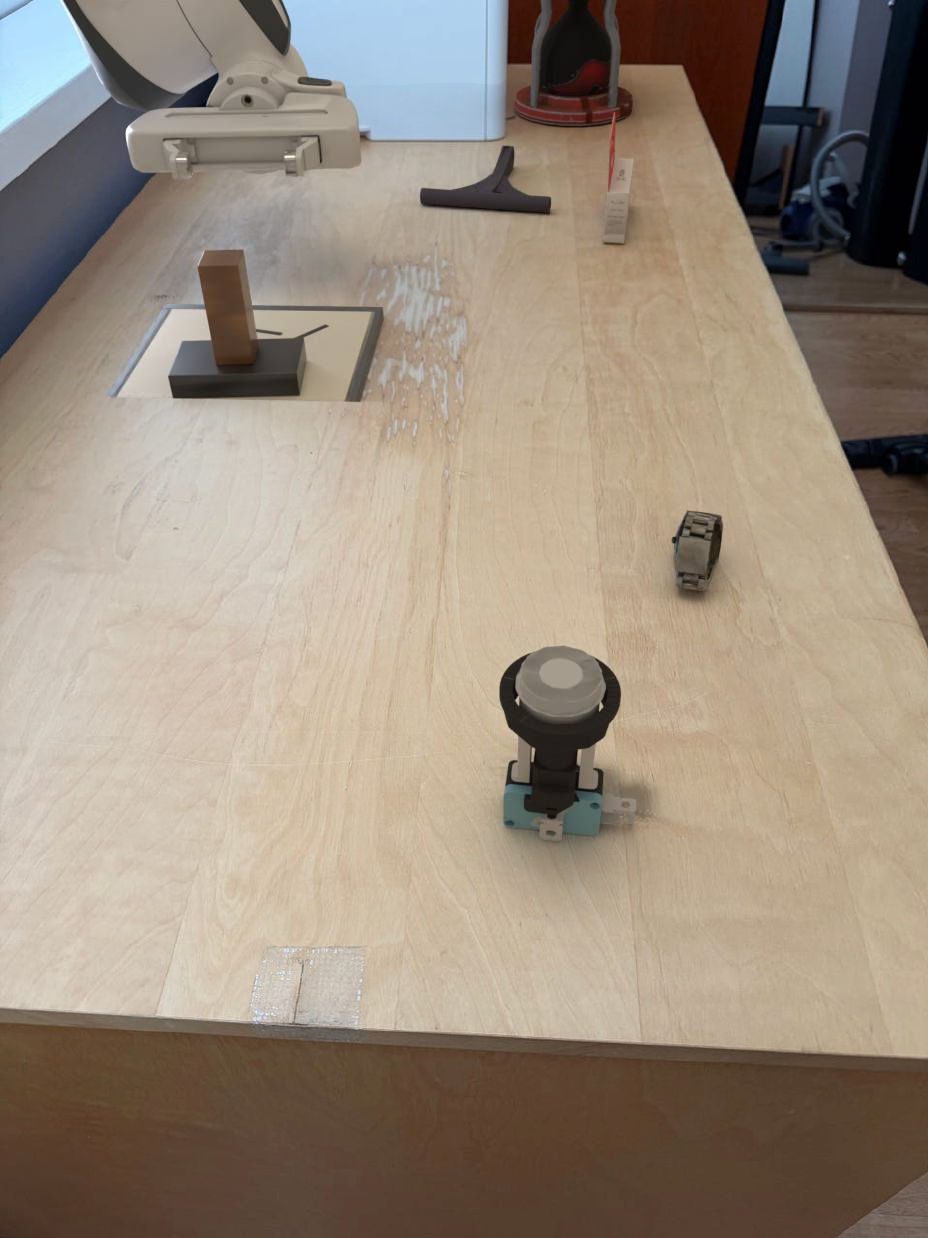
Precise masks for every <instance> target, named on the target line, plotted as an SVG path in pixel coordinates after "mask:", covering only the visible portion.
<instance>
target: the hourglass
mask: <svg viewBox="0 0 928 1238" xmlns="http://www.w3.org/2000/svg"><path fill="white" fill-rule="evenodd" d="M590 1H591V0H566V2H568V4H567V6H568V7H567V9H566V10H565V11H564V13H562V15H561V16H560V17H559V18H558V19H557V20H556V21H555V23H554V24H553V25H552V26H551V22H552V19H553V13H554V9H553V7H554V3H555V0H540V5H541V12H540V14H539V16H538V17H537V19H536V22H535V26H534V36H533V37H534V38H533V41H532V46H531V71H530V85H528V86H525V87H522V88H521V89H520V90H518V91H517V92H515V94H514V100H513V101H514V103H513V107H514V108H513V111H514V112H515V113H516V114H517V115H518V116H519V117H522V118H524V119H526V120H528V121H531V122H535V123H540V124H543V125H551V126H561V127H586V126H588V127H589V126H598V125H604V124H608V123H612V122H613V115H614V112H615V121H616V122H617V121H620V120H622V119H624V118H627V117H628V116H629V115H630V114H631V113H632V112H633V104H634V98H633V94H632V93H631V92H630V91H629V90H627V89H626V88H623V87H621V86H619V76H620V63H621V52H622V47H621V39H620V34H619V32H620V29H619V28H620V27H619V21H618V18H617V15H616V14H615V11H616V6H617V0H602V10H603V11H602V15H603V23H604V27H603V26H602V24H601V23H600V22H599V20H598V19H597V18H596V17H595V16H594V14H593V13H592V12H591V10H589V2H590Z"/></svg>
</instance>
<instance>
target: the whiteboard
mask: <svg viewBox="0 0 928 1238" xmlns="http://www.w3.org/2000/svg"><path fill="white" fill-rule="evenodd" d="M252 307H253V314H254V320H255V327H256V333H257V339H279V338H304V342H305V350H306V358H307V361H306V366H305V371H304V376H303V381H302V386H301V391H300V395H295V396H254V397H214V398H175V399H179V400H181V399H183V400H232V401H234V400H235V401H238V400H239V401H283V402H285V401H287V402H290V401H291V402H331V403H332V402H336V403H337V402H339V403H343V402H344V403H361V400H362V399H361V398H362V395H363V392H364V388H365V384H366V381H367V378H368V373H369V370H370V366H371V363H372V359H373V357H374V353H375V349H376V345H377V342H378V339H379V334H380V330H381V327H382V323H383V320H384V307H383V306H350V305H349V306H347V305H346V306H343V305H339V306H338V305H273V304H272V305H271V304H270V305H268V304H267V305H265V304H262V305H261V304H252ZM197 340H211V336H210V330H209V325H208V320H207V315H206V309H205V304H204V303H203V304H199V303H198V304H195V303H194V304H192V303H189V304H188V303H165V305H164V306H163V307H162V309H161V311H160V313H159V314H158V316H157V317H156V318H155V320H154V322H153V323H152V324H151V326H150V328H149V329H148V331H147V333H146V334H145V336H144V337H143V338H142V340H141V342H139V345H138V346H137V348H136V349H135V351H134V352H133V354H132V355H131V356H130V358H129V360H128V362H126V364H125V367H124V368H123V369H122V371H121V372H120V374H119V375H118V377H117V379H116V380H115V381H114V383H113V385H112V386H111V387H110V389H109V391H108V392H107V394H106V396H105V398H128V399H129V398H130V399H131V398H133V399H174V398H173V397H172V392H171V388H170V383H169V379H168V375H169V372H170V370H171V367H172V365H173V362H174V359H175V357H176V354H177V352H178V349H179V347H180V344H181V342H182V341H197Z"/></svg>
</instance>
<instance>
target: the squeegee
mask: <svg viewBox="0 0 928 1238" xmlns="http://www.w3.org/2000/svg"><path fill="white" fill-rule="evenodd" d="M515 153H516V152H515V147H514V146H513V145H501V148H500V152H499V155H498V158H497V161H496V163H495V166H494V168H493V170H492V173H490V174H489V175H488V176H487V177H484V178H483V179H481V180H479V181H477V182H475V183H473V184H470V185H465V186H462V187H458V188H452V189H445V188H444V189H443V188H430V187H421V188H420V191H419V202H420V204H421V205H432V206H434V205H435V206H449V207H460V208H476V209H487V210H488V209H490V210H504V211H514V212H515V211H516V212H530V213H531V212H532V213H544V214H550V213H551V210H552V209H551V208H552V196H547V195H532V194H531V195H530V194H527V193H525V192H522V191H521V190H519V189H517V188H516V187H514V186H513V185H512V184H511V182H510V181H509V177H510V175H511V173H512V171H513V169H514V165H515V155H516V154H515Z"/></svg>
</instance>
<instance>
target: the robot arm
mask: <svg viewBox="0 0 928 1238" xmlns="http://www.w3.org/2000/svg"><path fill="white" fill-rule="evenodd" d="M60 3H61V4H62V6H63V8H64V10H65V12H66V14H67V16H68V17H69V19H70V21H71V23H72V25H73V27H74V30H75V32H76V33H77V36H78V38H79V39H80V42H81V44H82V47H83V49H84V51H85V53H86V55H87V57H88V60H89V62H90V64H91V66H92V68H93V69H94V71H95V73H96V75H97V78H98V80H99V81H100V82H101V84H102V85H103V87H104V89H105V90H106V92H107V93H108V94H109V95H110V96H111V97H112V99H113V100H114V101H115V102H116V103H118V104H119V105H121V106H124V107H127V108H130V109H132V110H135V111H139V112H143V114H141V115H139V116H138V117H137V118H136V119H135V120H133V122H131V123H130V124H129V125H128V126H127V128H126V129H125V130H126V131H125V138H126V145H127V150H128V155H129V159H130V163H131V165H132V167H133V169H134V170H136V171H137V172H140V173H143V174H144V173H145V174H154V173H171V177H172V179H173V180H191V179H192V177H193V176H194V173H197V172H198V173H199V172H200V173H202V172H244V173H246V174H251V175H267V174H272V173H274V172H277V171H284V172H285V177H287V178H299V177H302V178H303V177H305V172H308V171H311V170H337V169H339V170H340V169H341V170H343V169H344V170H345V169H346V170H348V169H349V170H350V169H353V168H356V167H359V166H361V164H362V150H361V149H362V147H361V131H360V123H359V116H358V112H357V109H356V106H355V104H354V103H353V101H351V100H350V99H349V98H348V95H347V90H346V86H345V84H344V83H343V82H342V81H339V80H332V79H331V80H330V79H326V78H317V77H310V76H309V73H308V70H307V66H306V64H305V63H304V61H303V59H302V57H301V55H300V54H299V51H298V50H297V49H296V47H295V46H294V44H292V43H291V40H292V39H291V38H292V22H291V19H290V16H289V13H288V11H287V8H286V6H285V3H284V1H283V0H60ZM216 74H218V78H217V81H216V83H215V85H214V87H213V88H212V91H211V92H210V94H209V97H208V99H207V101H206V105H205V106H203V107H202V106H201V107H196V106H195V107H170V106H172V105H173V104H175V103H176V102H177V101H178V100H180V99H181V98H182V97H184V96H185V95H187V93H188V91H190V90H191V89H193V88H195V87H196V86H198V85H199V84H202V83H203V82H205V81H207V80H208V79H210V78H212V77H213V76H215V75H216Z"/></svg>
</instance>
